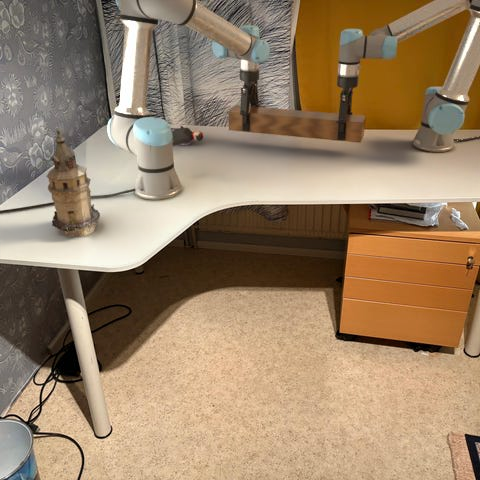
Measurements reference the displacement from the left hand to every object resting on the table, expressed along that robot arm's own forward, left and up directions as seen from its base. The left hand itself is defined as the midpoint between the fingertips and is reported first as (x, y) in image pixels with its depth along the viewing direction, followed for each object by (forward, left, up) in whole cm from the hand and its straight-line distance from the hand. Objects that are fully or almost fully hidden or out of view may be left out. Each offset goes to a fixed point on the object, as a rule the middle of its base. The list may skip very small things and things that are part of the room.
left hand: (249, 127), depth 214 cm
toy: (-33, +5, -7) cm, 34 cm away
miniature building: (-57, -67, -7) cm, 88 cm away
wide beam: (+17, -8, -1) cm, 19 cm away
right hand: (+34, -15, 0) cm, 37 cm away
